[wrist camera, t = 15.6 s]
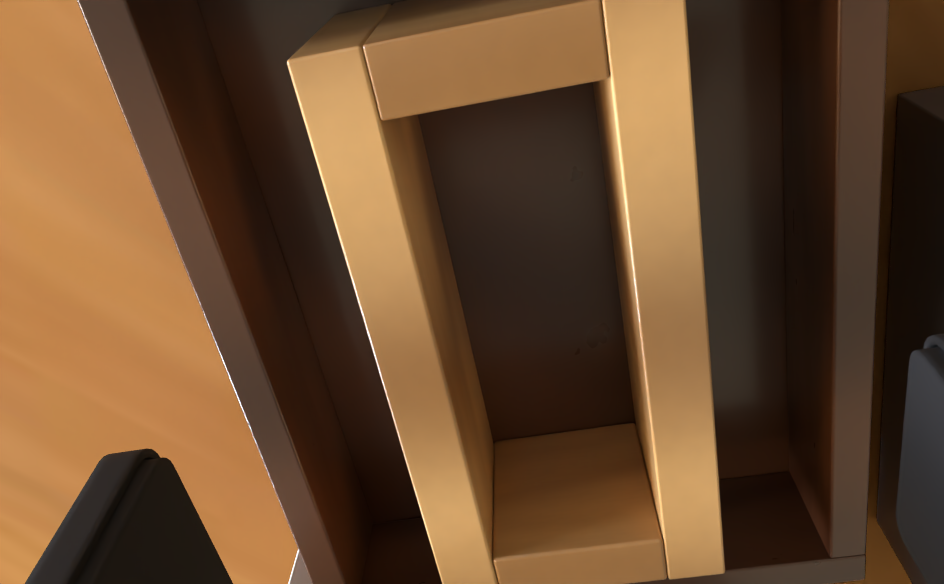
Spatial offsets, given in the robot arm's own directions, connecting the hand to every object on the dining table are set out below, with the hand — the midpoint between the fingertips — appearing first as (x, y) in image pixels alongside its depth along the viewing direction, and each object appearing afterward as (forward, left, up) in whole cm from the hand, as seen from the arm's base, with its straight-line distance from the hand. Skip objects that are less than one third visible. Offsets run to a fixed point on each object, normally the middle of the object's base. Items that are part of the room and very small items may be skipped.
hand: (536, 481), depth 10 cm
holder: (+1, 0, -9) cm, 9 cm away
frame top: (+1, 0, -8) cm, 8 cm away
